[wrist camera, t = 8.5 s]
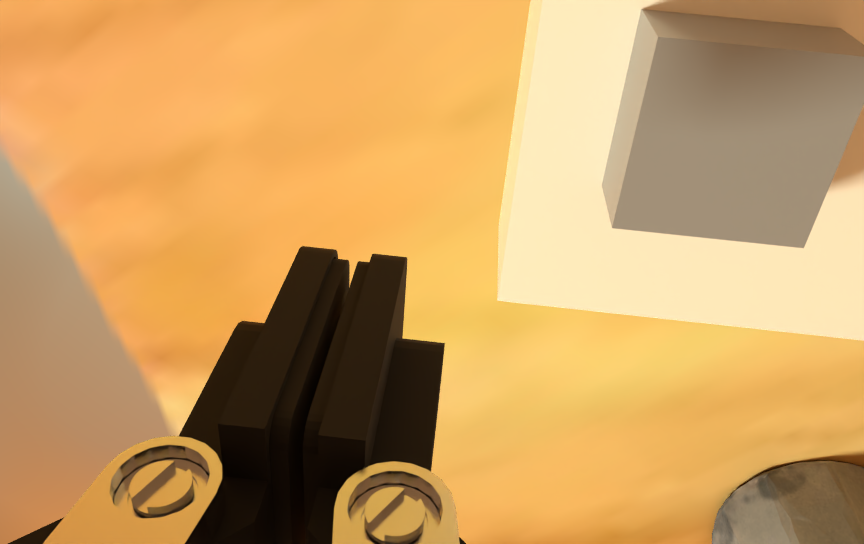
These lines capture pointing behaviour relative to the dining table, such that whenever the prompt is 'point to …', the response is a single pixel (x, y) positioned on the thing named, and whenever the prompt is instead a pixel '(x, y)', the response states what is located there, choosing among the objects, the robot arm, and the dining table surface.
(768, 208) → the slate tile
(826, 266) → the board
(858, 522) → the moka pot
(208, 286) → the dining table surface
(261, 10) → the dining table surface
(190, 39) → the dining table surface
